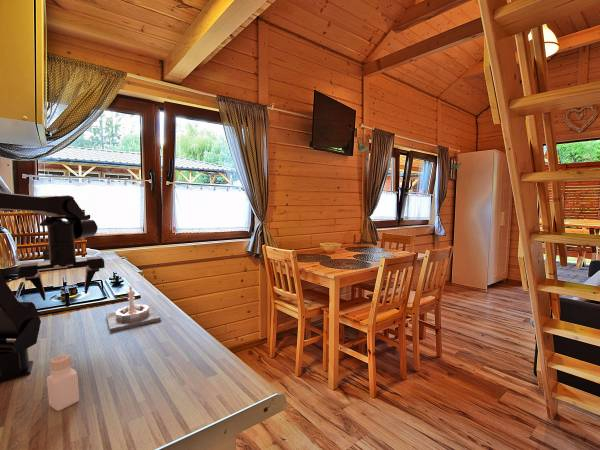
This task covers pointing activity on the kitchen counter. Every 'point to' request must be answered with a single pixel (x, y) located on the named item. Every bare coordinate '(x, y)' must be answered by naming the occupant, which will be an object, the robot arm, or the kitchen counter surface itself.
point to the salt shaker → (62, 383)
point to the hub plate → (131, 317)
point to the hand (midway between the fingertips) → (65, 296)
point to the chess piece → (131, 302)
